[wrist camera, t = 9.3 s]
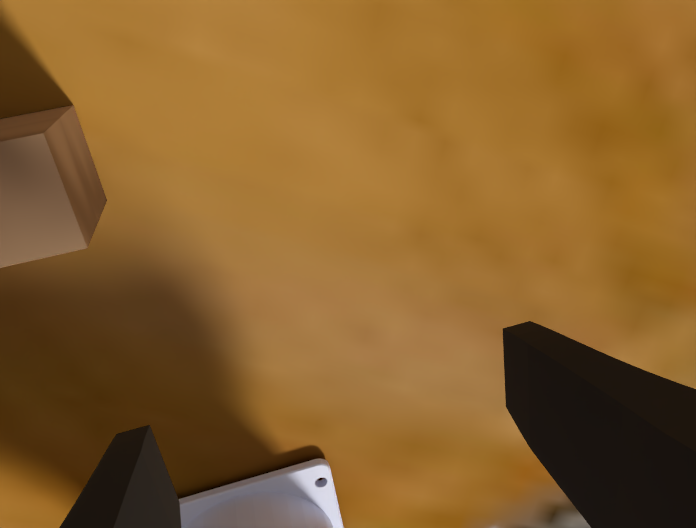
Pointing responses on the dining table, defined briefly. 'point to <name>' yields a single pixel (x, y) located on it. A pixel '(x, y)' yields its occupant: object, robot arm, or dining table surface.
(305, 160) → the dining table surface
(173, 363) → the dining table surface
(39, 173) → the walnut rail
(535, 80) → the dining table surface
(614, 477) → the robot arm
